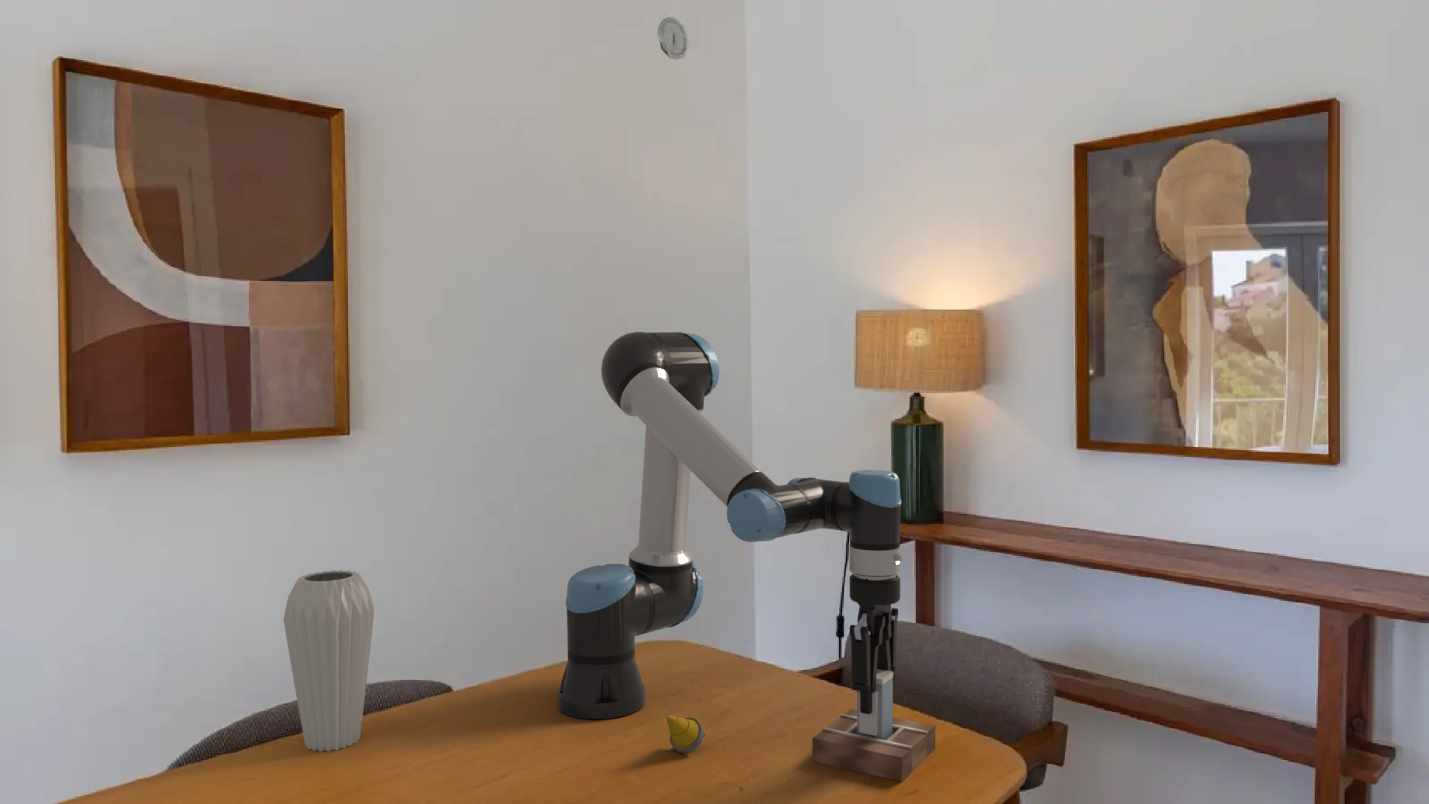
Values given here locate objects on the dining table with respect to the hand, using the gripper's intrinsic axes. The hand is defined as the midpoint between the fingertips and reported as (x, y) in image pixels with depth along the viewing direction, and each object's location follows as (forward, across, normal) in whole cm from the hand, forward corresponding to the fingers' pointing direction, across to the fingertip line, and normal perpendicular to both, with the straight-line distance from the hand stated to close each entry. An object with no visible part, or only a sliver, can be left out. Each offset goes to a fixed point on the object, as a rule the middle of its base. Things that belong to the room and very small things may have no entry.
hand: (874, 727), depth 148 cm
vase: (+4, -39, +75) cm, 85 cm away
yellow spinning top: (+4, -14, +25) cm, 29 cm away
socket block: (+4, 0, 0) cm, 4 cm away
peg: (+2, 0, 0) cm, 2 cm away
